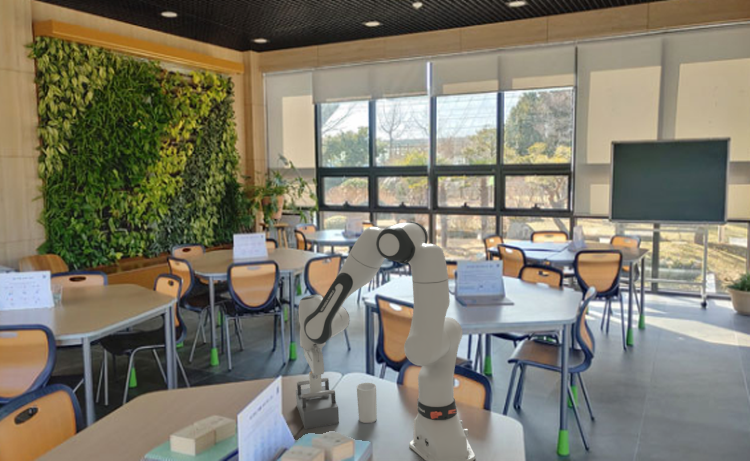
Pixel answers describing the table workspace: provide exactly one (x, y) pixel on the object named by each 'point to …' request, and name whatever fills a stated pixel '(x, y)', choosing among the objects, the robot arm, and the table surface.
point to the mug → (367, 402)
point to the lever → (315, 384)
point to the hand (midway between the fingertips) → (314, 378)
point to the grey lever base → (317, 405)
